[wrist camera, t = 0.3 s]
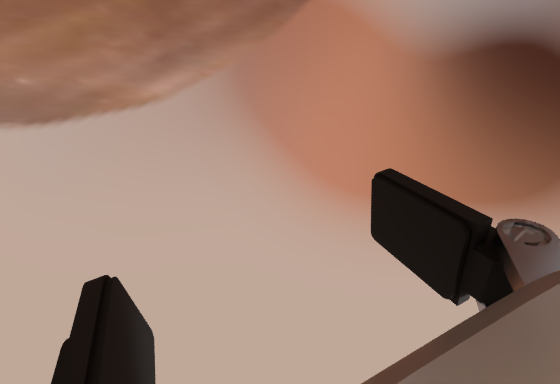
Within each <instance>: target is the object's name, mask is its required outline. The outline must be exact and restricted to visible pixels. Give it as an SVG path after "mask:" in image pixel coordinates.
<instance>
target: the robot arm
mask: <svg viewBox="0 0 560 384" xmlns="http://www.w3.org/2000/svg"><path fill="white" fill-rule="evenodd" d="M371 196H372V197H371V234H372V237H373V238H374V240H375V241H377V242H378V243H379V244H380V245H381V246H383V247H384V248H385V249H386V250H387V251H388V252H390V253H391V254H392V255H393V256H394V257H396V258H397V259H398V260H399V261H400V262H401V263H403V264H404V265H405V266H406V267H407V268H409V269H410V270H411V271H412V272H413V273H415V274H416V275H417V276H418V277H419V278H420V279H422V280H423V281H424V282H425V283H426V284H428V285H429V286H430V287H431V288H432V289H433V290H435V291H436V292H437V293H438V294H440V295H441V296H442V297H443V298H445V299H450V300H451V301H452V302H453V303H454V304H456V305H457V306H458V305H460V304H461V303H463V302H465V301H467V300H468V299H469V297H470V295H471V296H472V297H473V298H475V299H476V302H477V305H478V308H479V311H480V312H479V313H477V314H475V315H473V316H472V317H470V318H468V319H467V320H465V321H463V322H462V323H460V324H458V325H457V326H455V327H454V328H452V329H450V330H449V331H447V332H445V333H444V334H442V335H440V336H439V337H437V338H435V339H434V340H432V341H430V342H429V343H427V344H426V345H424V346H422V347H420V348H419V349H417V350H416V351H414V352H412V353H411V354H409V355H407V356H406V357H404V358H402V359H401V360H399V361H398V362H396V363H395V364H393V365H391V366H389V367H388V368H386V369H385V370H383V371H381V372H379V373H378V374H376V375H375V376H373V377H371V378H370V379H368V380H366V381H365V382H363V383H362V384H560V239H559V238H558V236H557V235H556V234H555V233H554V232H553V231H552V230H550V229H549V228H547V227H545V226H544V225H541V224H539V223H536V222H533V221H529V220H524V219H506V220H502V221H501V222H499V223H498V225H497V227H496V229H495V228H494V227H492V226H491V223H492V218H490V217H488V216H486V215H484V214H482V213H480V212H478V211H476V210H474V209H472V208H470V207H468V206H466V205H464V204H462V203H460V202H458V201H456V200H454V199H452V198H450V197H448V196H446V195H444V194H442V193H440V192H438V191H436V190H434V189H432V188H430V187H428V186H426V185H424V184H422V183H420V182H418V181H415V180H413V179H411V178H409V177H407V176H405V175H403V174H401V173H399V172H397V171H395V170H393V169H386V170H383V171H381V172H378V173H376V174H375V176H374V178H373V179H372V195H371ZM51 384H155V353H154V336H153V333H152V330H151V328H150V327H149V325H148V324H147V322H146V321H145V319H144V318H143V316H142V314H141V313H140V312H139V310H138V308H137V307H136V305H135V304H134V302H133V301H132V299H131V298H130V296H129V295H128V293H127V291H126V290H125V288H124V287H123V285H122V284H121V282H120V281H119V280H118V278H117V277H113V278H110V277H109V276H108V275H104V276H101V277H99V278H96V279H93V280H91V281H88V282H86V283H84V285H83V288H82V292H81V296H80V299H79V303H78V307H77V311H76V315H75V318H74V322H73V326H72V330H71V334H70V337H69V338H68V339H67V340H66V341H65V342H64V343H63V345H62V347H61V350H60V354H59V357H58V361H57V365H56V368H55V371H54V375H53V378H52V382H51Z"/></svg>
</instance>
